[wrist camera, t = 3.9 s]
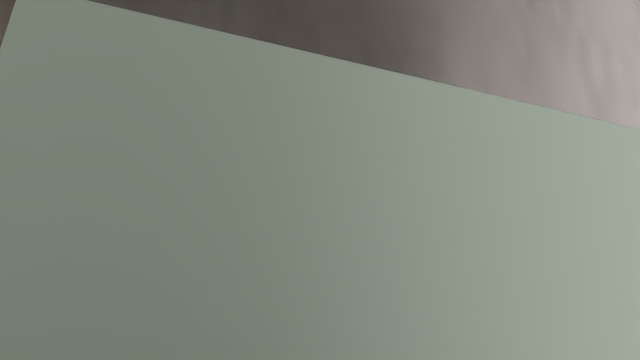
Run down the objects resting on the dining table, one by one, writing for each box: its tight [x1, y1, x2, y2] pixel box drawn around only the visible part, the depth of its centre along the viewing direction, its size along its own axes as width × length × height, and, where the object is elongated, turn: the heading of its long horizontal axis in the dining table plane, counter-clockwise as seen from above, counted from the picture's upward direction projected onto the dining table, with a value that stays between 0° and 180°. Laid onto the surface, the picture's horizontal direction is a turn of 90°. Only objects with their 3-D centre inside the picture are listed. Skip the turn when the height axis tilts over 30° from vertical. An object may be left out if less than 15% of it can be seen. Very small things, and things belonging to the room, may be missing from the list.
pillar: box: [0, 0, 640, 360], centre depth 9 cm, size 5×5×13 cm
